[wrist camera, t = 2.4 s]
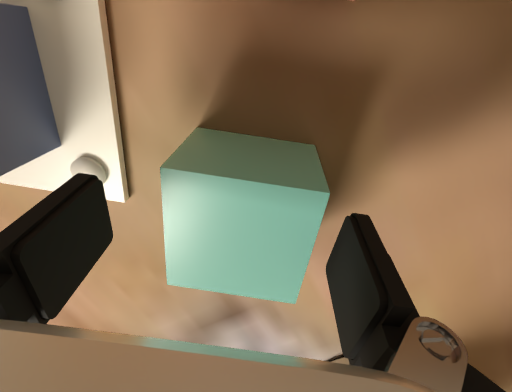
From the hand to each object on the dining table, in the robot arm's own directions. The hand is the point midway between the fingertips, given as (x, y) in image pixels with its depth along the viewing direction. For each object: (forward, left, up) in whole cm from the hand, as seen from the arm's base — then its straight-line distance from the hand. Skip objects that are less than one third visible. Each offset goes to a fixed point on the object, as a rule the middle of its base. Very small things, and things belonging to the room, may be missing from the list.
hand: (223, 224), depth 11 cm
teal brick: (-1, +1, -5) cm, 5 cm away
